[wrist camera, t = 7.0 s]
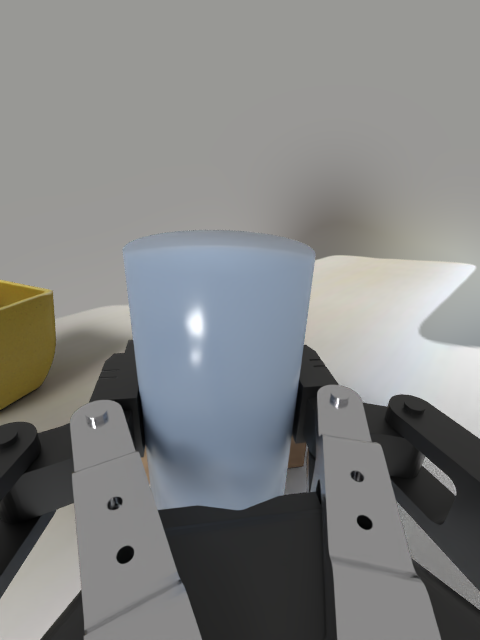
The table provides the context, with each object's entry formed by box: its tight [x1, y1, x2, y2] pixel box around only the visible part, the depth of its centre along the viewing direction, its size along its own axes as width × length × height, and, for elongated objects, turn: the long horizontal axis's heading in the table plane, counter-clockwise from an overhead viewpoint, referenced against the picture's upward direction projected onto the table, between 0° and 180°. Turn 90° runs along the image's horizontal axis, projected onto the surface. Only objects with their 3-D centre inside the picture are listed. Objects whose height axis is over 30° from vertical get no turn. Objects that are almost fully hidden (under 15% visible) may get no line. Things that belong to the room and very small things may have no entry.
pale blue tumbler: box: [123, 230, 315, 510], centre depth 11 cm, size 5×5×12 cm
